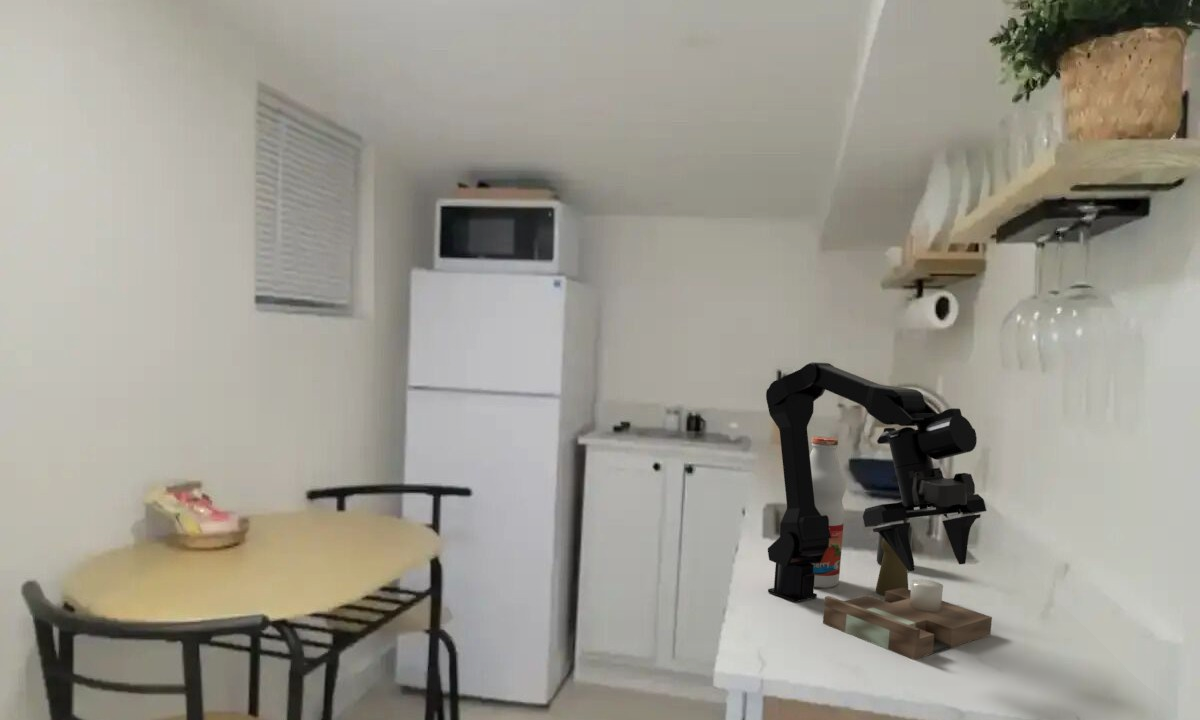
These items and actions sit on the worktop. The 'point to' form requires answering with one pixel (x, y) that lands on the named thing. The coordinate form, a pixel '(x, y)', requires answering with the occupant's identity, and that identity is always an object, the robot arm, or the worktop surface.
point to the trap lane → (905, 623)
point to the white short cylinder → (926, 595)
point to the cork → (891, 571)
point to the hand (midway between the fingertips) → (937, 567)
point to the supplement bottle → (879, 549)
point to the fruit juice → (828, 506)
